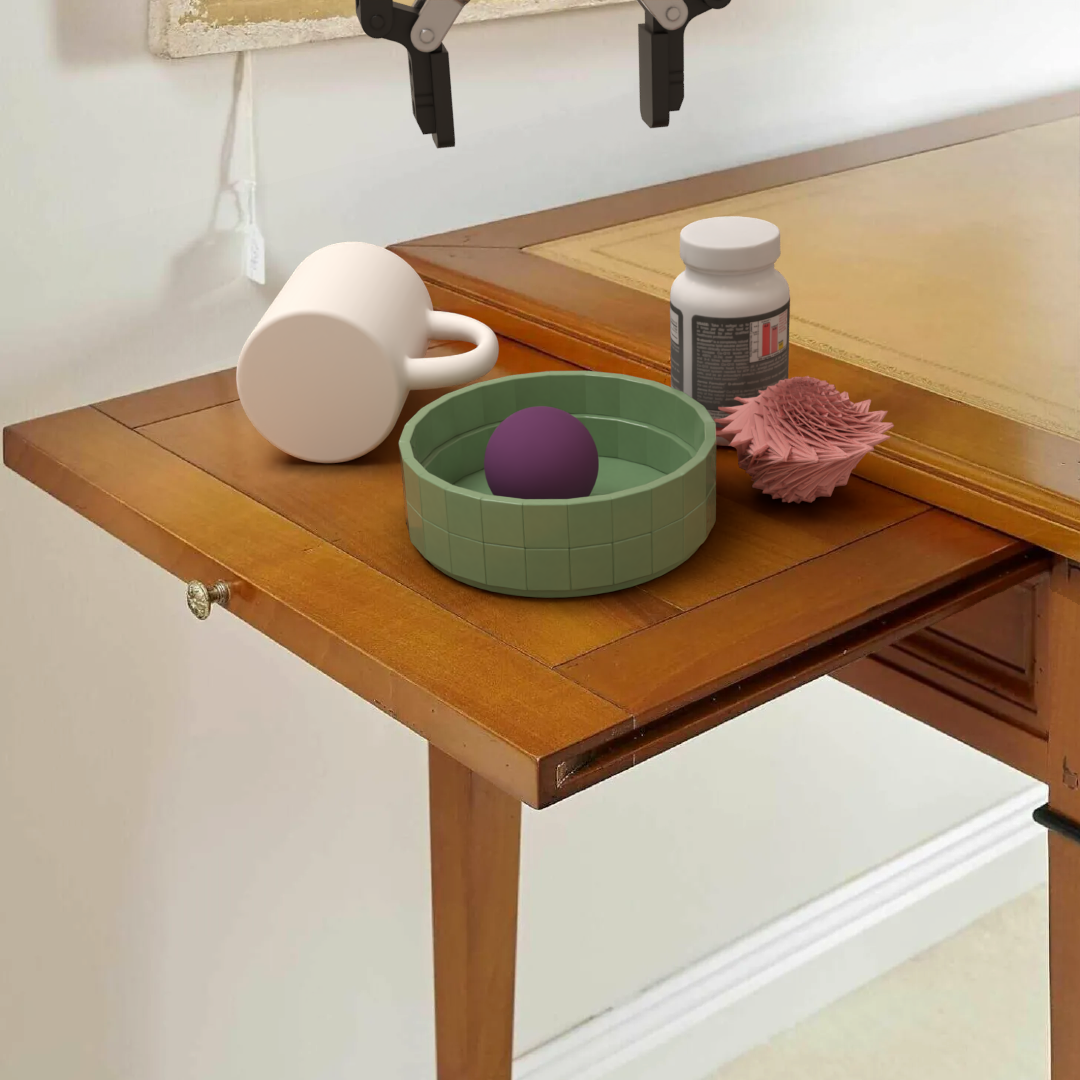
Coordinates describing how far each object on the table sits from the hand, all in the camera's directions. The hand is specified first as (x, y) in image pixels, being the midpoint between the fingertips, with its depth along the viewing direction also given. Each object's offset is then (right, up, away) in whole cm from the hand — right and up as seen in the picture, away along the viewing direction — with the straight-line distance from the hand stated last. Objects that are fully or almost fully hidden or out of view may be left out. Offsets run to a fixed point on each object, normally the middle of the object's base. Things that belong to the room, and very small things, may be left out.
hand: (550, 133), depth 65 cm
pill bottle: (+9, -11, +16) cm, 21 cm away
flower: (+11, -14, +9) cm, 20 cm away
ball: (+1, -15, +7) cm, 17 cm away
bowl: (+1, -15, +8) cm, 17 cm away
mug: (-8, -10, +18) cm, 23 cm away
